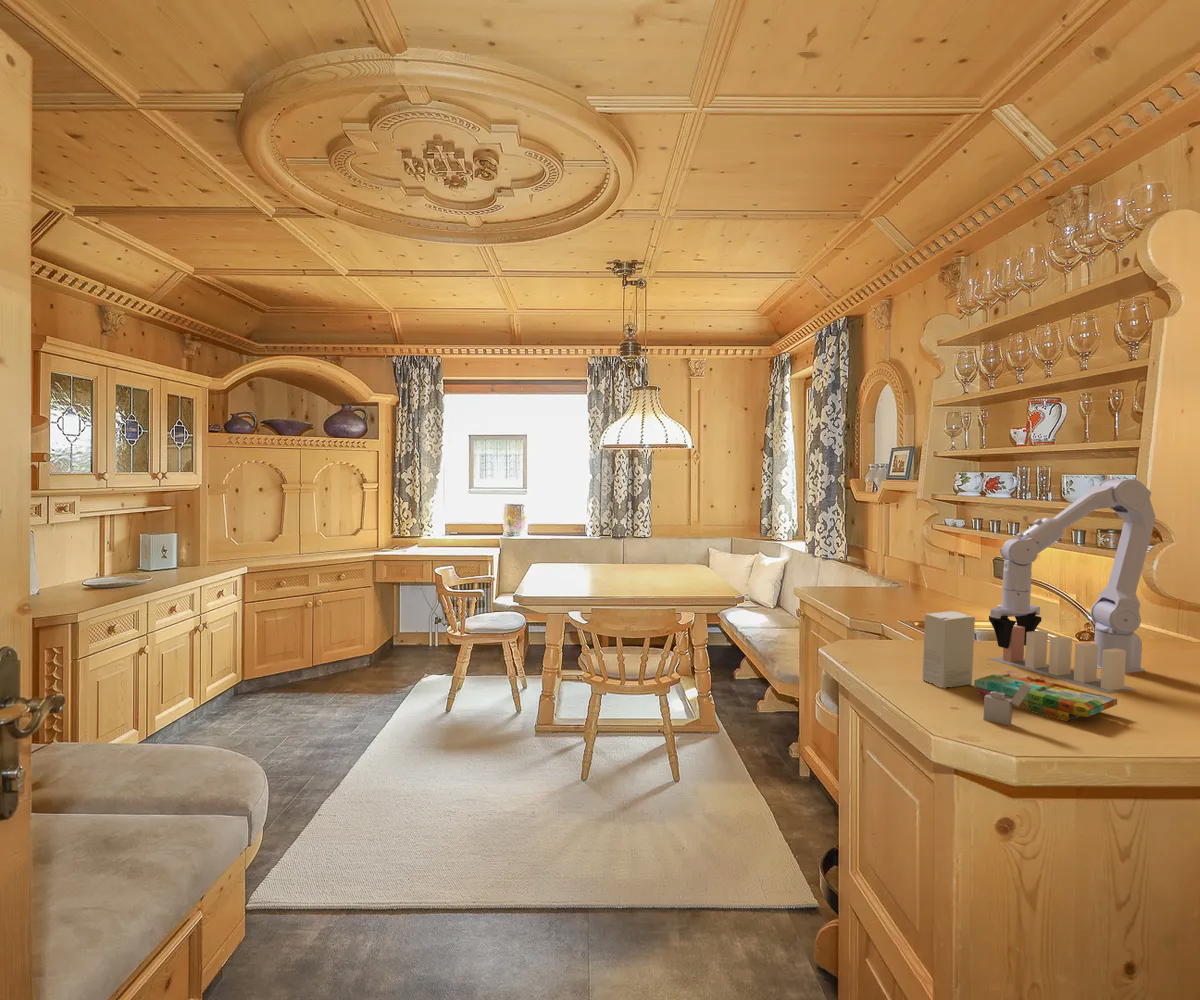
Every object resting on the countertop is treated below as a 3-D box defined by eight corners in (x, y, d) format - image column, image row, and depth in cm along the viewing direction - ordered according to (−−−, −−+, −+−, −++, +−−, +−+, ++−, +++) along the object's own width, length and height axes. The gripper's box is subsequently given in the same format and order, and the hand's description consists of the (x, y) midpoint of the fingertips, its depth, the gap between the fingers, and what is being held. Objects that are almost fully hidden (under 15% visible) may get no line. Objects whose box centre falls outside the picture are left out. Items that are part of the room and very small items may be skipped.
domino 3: (1061, 671, 155) (1063, 636, 155) (1070, 673, 153) (1072, 638, 153) (1048, 672, 153) (1050, 637, 153) (1057, 675, 151) (1059, 639, 151)
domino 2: (1037, 664, 160) (1039, 630, 160) (1046, 666, 158) (1047, 632, 158) (1024, 666, 158) (1026, 632, 158) (1033, 668, 156) (1035, 634, 156)
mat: (1014, 657, 168) (1014, 655, 168) (1136, 690, 143) (1136, 688, 143) (988, 660, 164) (988, 658, 164) (1108, 695, 139) (1108, 693, 139)
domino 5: (1113, 685, 145) (1115, 648, 144) (1124, 688, 143) (1126, 650, 143) (1100, 687, 143) (1102, 649, 143) (1110, 690, 141) (1112, 652, 141)
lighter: (983, 719, 124) (985, 676, 124) (985, 717, 125) (987, 674, 125) (1028, 730, 119) (1030, 685, 119) (1030, 728, 120) (1032, 683, 120)
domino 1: (1015, 658, 165) (1017, 625, 165) (1023, 660, 163) (1025, 627, 163) (1002, 659, 163) (1004, 626, 163) (1010, 662, 162) (1012, 628, 161)
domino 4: (1086, 678, 150) (1088, 641, 150) (1096, 680, 148) (1098, 644, 148) (1073, 680, 148) (1075, 643, 148) (1083, 682, 146) (1085, 645, 146)
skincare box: (950, 677, 150) (953, 610, 149) (973, 686, 144) (977, 615, 143) (920, 680, 147) (923, 612, 146) (943, 689, 141) (946, 618, 140)
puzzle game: (1004, 666, 143) (1117, 694, 126) (1003, 688, 143) (1116, 719, 127) (974, 675, 137) (1089, 705, 120) (973, 698, 137) (1088, 731, 120)
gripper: (1021, 585, 169) (1018, 639, 170) (979, 588, 163) (977, 644, 164) (1049, 590, 163) (1046, 646, 163) (1007, 593, 157) (1004, 651, 158)
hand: (1013, 646), depth 163 cm, fingers open, 7 cm apart
